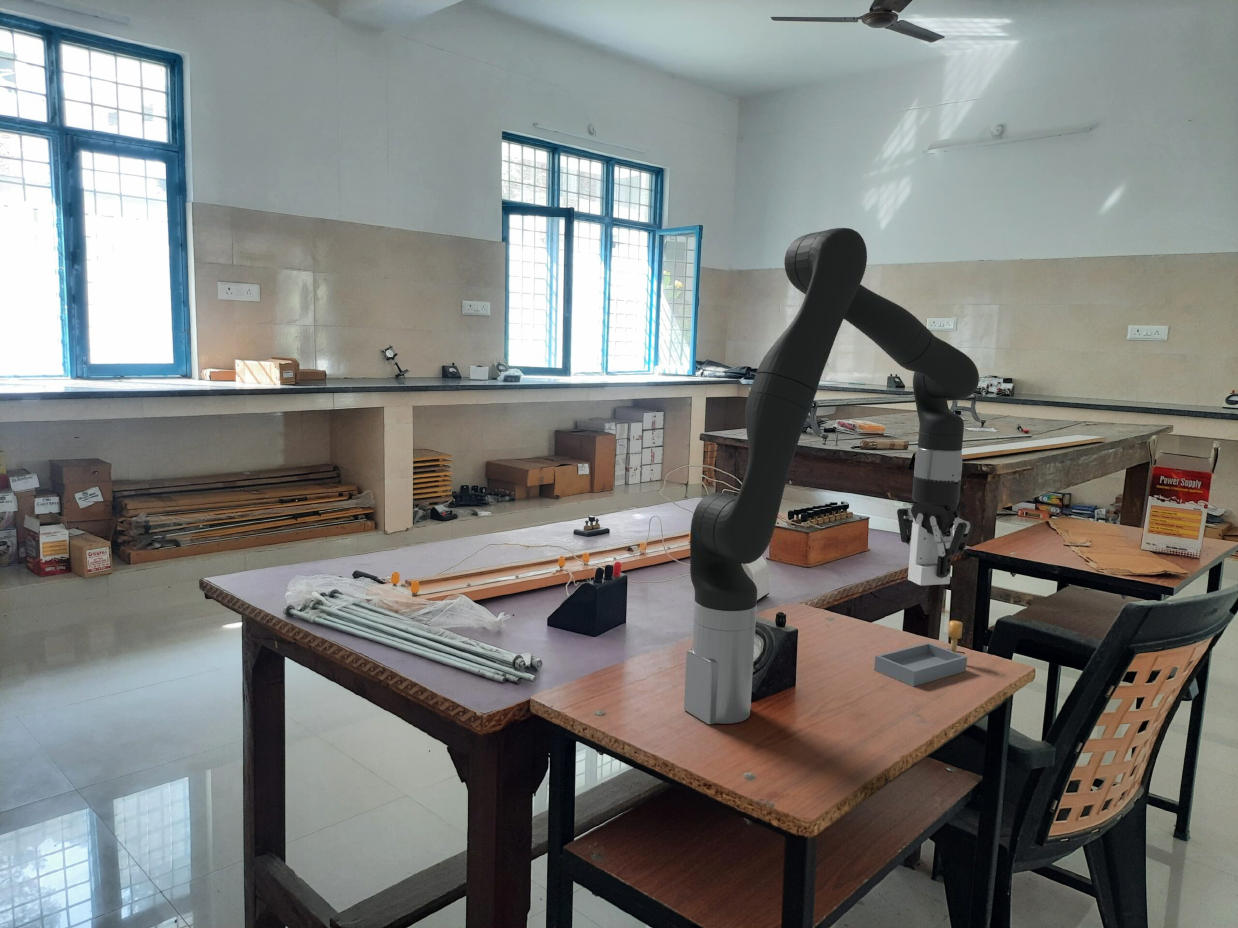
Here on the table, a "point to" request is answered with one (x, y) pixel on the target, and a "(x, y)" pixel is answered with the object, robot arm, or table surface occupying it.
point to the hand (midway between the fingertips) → (929, 572)
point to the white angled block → (924, 558)
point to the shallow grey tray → (923, 661)
